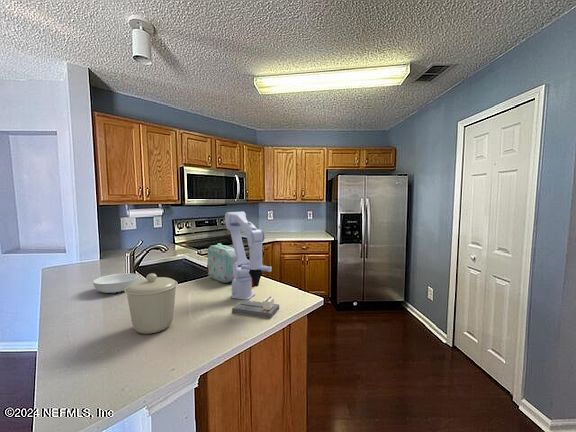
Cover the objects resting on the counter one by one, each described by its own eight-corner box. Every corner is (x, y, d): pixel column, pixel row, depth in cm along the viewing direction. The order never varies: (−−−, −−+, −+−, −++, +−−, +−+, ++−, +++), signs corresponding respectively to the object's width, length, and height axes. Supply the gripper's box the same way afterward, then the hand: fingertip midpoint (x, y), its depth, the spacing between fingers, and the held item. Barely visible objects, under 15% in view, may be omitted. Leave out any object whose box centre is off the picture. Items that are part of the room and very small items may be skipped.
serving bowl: (141, 291, 146) (140, 279, 145) (93, 300, 134) (92, 286, 134) (137, 282, 163) (136, 270, 163) (94, 288, 151) (93, 276, 151)
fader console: (232, 312, 118) (232, 308, 118) (243, 304, 127) (243, 299, 127) (270, 318, 112) (270, 313, 112) (279, 308, 122) (279, 304, 122)
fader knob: (263, 309, 116) (263, 299, 116) (267, 304, 121) (267, 295, 120) (269, 310, 115) (269, 300, 115) (274, 305, 120) (273, 296, 119)
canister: (143, 317, 114) (141, 267, 113) (186, 317, 114) (184, 267, 112) (115, 339, 96) (112, 280, 95) (165, 339, 96) (163, 281, 94)
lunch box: (204, 276, 173) (203, 243, 172) (219, 273, 180) (218, 241, 179) (226, 286, 154) (225, 248, 152) (241, 282, 161) (241, 246, 159)
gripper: (237, 257, 122) (237, 287, 123) (267, 259, 118) (267, 290, 118) (244, 254, 129) (245, 282, 130) (273, 256, 124) (273, 285, 125)
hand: (256, 285), depth 125 cm, fingers closed
